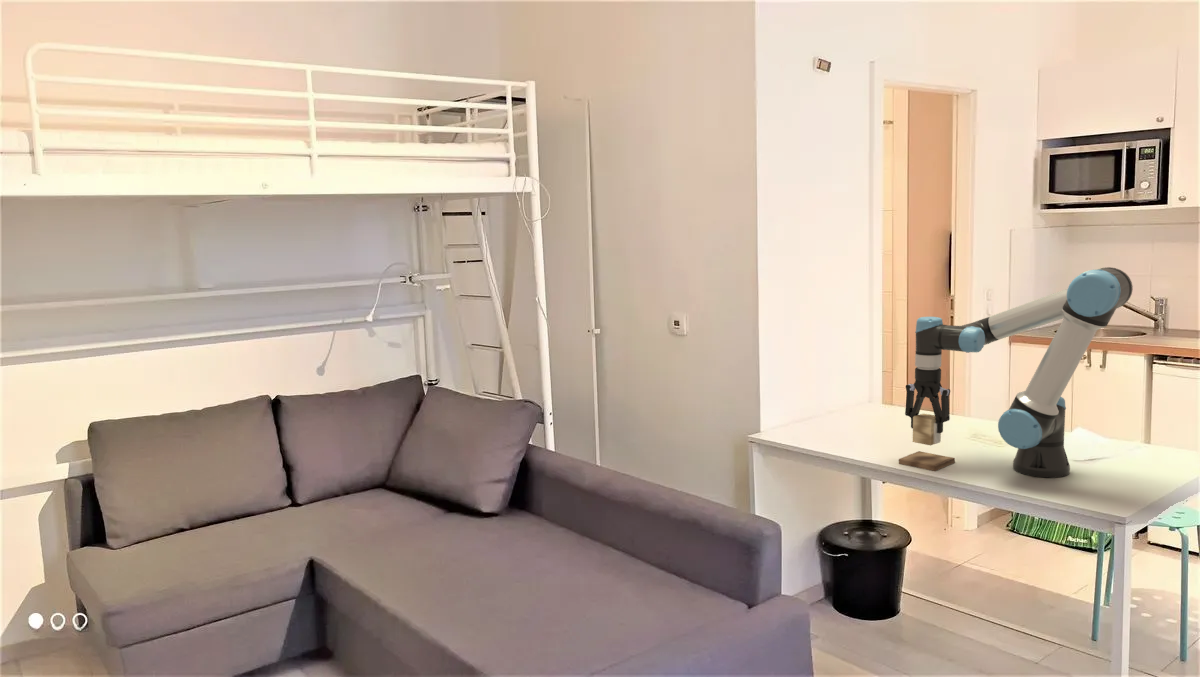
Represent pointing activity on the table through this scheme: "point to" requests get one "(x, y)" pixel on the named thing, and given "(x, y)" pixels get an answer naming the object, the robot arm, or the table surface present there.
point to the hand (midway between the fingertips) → (926, 440)
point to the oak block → (924, 429)
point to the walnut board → (927, 461)
